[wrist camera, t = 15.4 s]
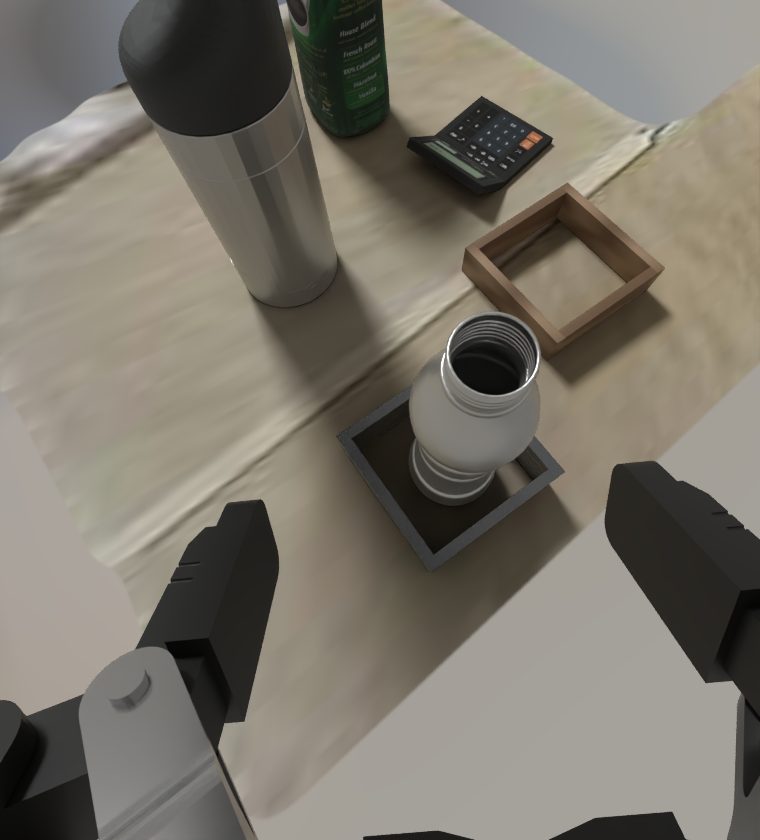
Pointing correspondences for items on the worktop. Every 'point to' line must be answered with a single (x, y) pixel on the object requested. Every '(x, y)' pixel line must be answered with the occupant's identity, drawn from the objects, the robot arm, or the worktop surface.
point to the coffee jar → (342, 62)
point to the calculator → (482, 146)
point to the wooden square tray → (588, 228)
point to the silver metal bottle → (474, 407)
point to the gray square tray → (352, 442)
